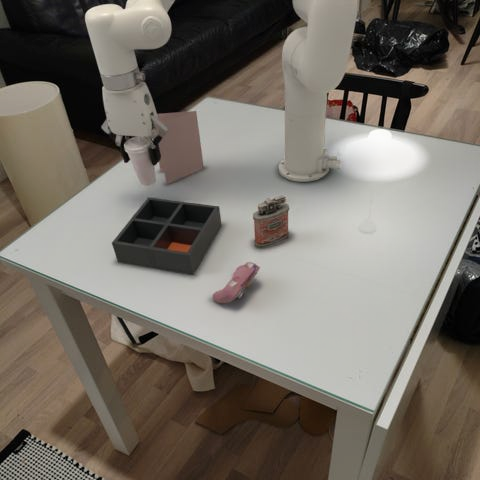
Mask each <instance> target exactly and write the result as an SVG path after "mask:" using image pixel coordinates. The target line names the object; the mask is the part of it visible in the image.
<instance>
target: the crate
mask: <svg viewBox="0 0 480 480" xmlns="http://www.w3.org/2000/svg"><path fill="white" fill-rule="evenodd" d="M220 209H221V208H220V205H211V204H203V203H198V202H197V203H196V202H188V201H181V200H172V199H165V198H158V197H150V196H149V197H147V198H146V199H145V200H144V202H143V203H142V204H141V205H140V207H139V208H138V209H137V210H136V212H135V213H134V214H133V215H132V217H131V218H130V219H129V221H128V222H127V223H126V224H125V225H124V227H123V228H122V229H121V230H120V231H119V233H118V234H117V236H116V237H115V238H114V239H113V241H112V242H111V245H112V248H113V251H114V254H115V255H114V256H115V258H116V260H117V263H120V264H127V265H131V266H132V265H133V266H138V267H143V268H150V269H156V270H161V271H167V272H173V273H178V274H179V273H180V274H185V275H190V276H194V274H195V272H196V271H197V269H198V267H199V266H200V264H201V262H202V261H203V258H204V257H205V255H206V254H207V252H208V250H209V248H210V246H211V245H212V243H213V241H214V240H215V238H216V236H217V234H218V233H219V231H220V229H221V227H222V225H223V224H222V217H221V211H220Z"/></svg>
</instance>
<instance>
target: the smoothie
mask: <svg viewBox="0 0 480 480" xmlns="http://www.w3.org/2000/svg"><path fill="white" fill-rule="evenodd" d="M126 140H127V141H126V142H125V143H124V148H125V151H126V152H127V153H128V155H129V158H130V162H131V164H132V167H133V169H134V172H135V174H136V176H137V179H138V182H139V183H140V185H141V186H144V187H149V186H152V185H154V184H155V183H156V181H157V179H156V170H155V169H156V167H155V165H152V162H151V158H150V154H149V148H150V146H149V144H148V143H147V141H146V140H145V138H144V137H139V136H132V137H131V138H129V139H126Z"/></svg>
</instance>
